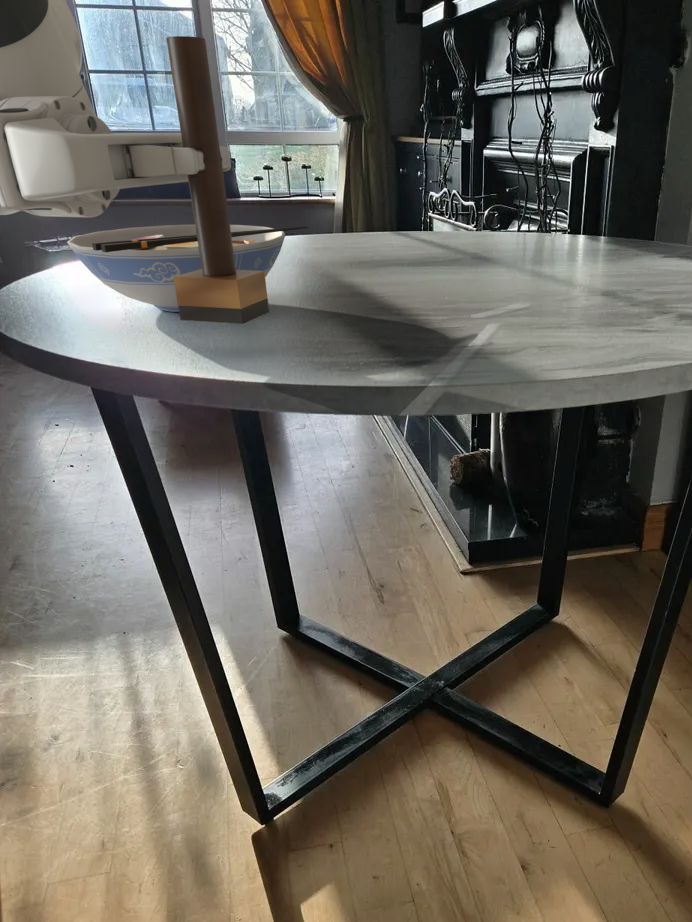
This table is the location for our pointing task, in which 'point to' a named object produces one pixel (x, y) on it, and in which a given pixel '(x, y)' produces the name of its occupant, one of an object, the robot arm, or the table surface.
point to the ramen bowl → (167, 257)
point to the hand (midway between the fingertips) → (213, 160)
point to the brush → (209, 202)
